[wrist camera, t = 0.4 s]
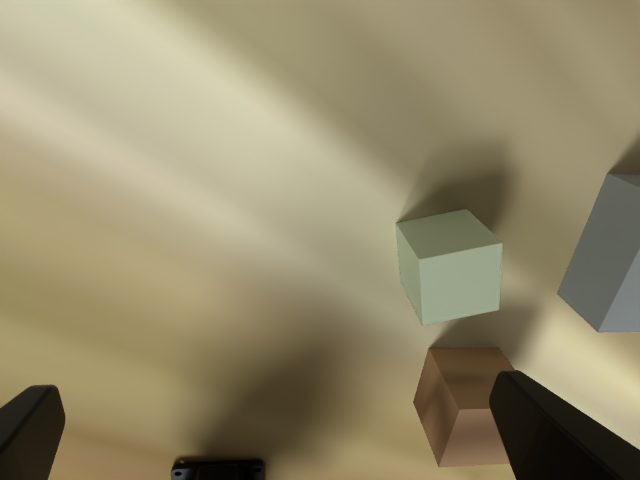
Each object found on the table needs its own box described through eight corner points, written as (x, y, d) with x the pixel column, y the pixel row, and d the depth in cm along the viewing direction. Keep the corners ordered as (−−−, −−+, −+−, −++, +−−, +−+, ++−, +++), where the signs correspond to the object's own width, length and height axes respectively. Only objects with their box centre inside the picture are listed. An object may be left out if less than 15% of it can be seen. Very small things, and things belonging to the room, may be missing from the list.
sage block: (465, 268, 25) (498, 310, 21) (400, 282, 25) (422, 325, 21) (466, 208, 23) (502, 242, 20) (395, 222, 23) (418, 259, 19)
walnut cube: (478, 399, 31) (514, 463, 26) (412, 401, 30) (438, 467, 25) (498, 346, 28) (541, 407, 24) (428, 347, 28) (459, 409, 23)
